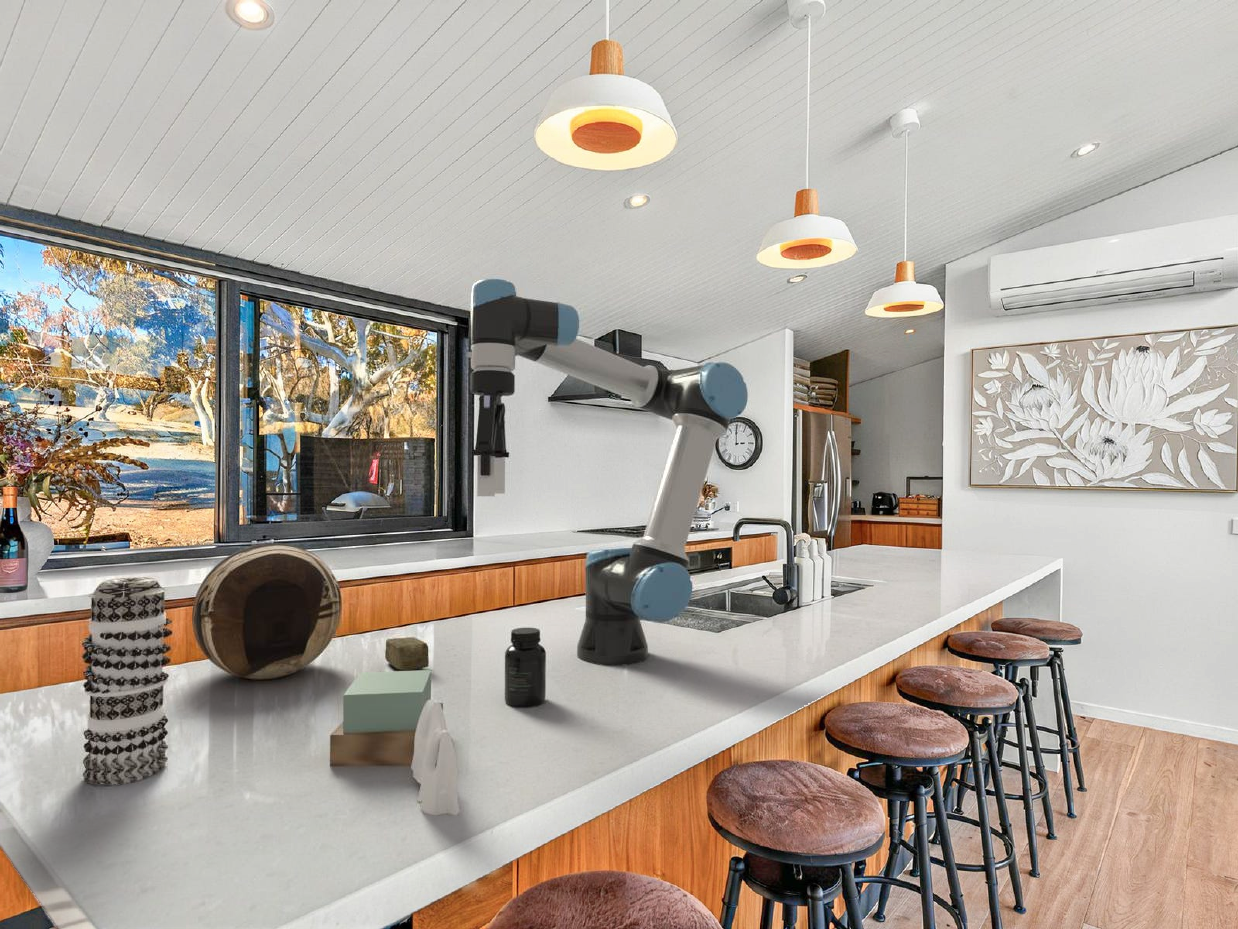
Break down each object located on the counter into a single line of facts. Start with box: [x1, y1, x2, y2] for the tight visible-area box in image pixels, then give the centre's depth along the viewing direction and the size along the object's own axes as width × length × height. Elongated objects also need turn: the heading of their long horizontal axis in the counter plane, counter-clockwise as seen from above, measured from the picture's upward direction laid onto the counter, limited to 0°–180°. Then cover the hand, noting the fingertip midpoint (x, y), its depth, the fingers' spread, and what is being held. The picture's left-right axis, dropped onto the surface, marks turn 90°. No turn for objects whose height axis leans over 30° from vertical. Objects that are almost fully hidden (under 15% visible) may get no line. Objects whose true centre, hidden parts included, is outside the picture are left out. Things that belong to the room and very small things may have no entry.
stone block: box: [384, 636, 430, 671], centre depth 135 cm, size 6×12×5 cm, turn 33°
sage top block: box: [342, 669, 432, 733], centre depth 96 cm, size 10×10×5 cm
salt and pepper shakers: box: [410, 699, 460, 816], centre depth 82 cm, size 12×4×11 cm, turn 23°
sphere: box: [191, 542, 343, 681], centre depth 130 cm, size 25×25×25 cm
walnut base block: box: [329, 702, 444, 767], centre depth 96 cm, size 12×12×5 cm
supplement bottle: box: [504, 627, 547, 709], centre depth 117 cm, size 7×7×12 cm
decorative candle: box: [81, 576, 173, 787], centre depth 87 cm, size 9×9×25 cm
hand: (491, 495), depth 119 cm, fingers open, 13 cm apart
